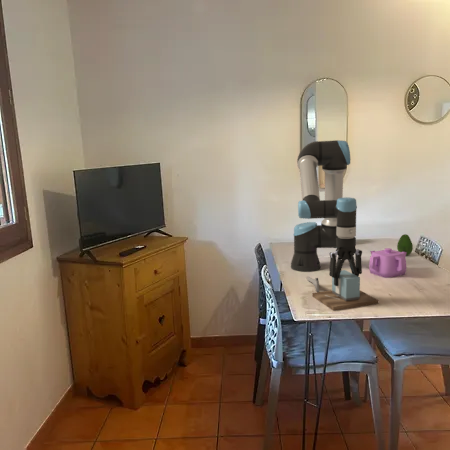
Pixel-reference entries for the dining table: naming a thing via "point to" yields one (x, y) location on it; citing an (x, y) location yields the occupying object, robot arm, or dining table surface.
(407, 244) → the avocado
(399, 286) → the dining table surface
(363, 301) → the board
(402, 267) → the pink lidded pot
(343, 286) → the block
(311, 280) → the caliper
